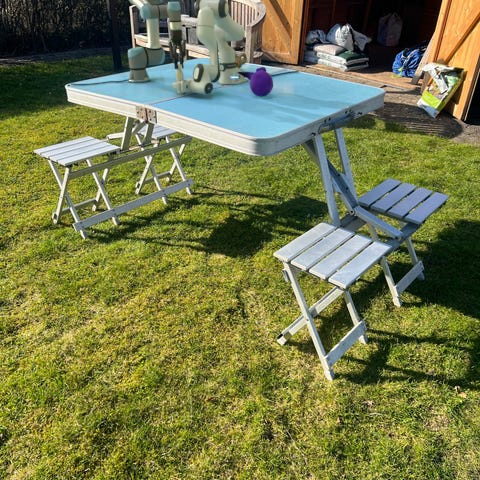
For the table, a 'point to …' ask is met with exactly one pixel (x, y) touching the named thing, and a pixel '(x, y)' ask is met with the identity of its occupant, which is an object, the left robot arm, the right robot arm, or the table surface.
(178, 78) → the bottle
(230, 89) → the table surface
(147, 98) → the table surface
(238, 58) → the teapot
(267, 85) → the toy
